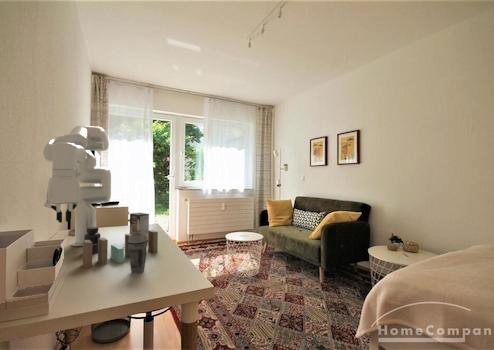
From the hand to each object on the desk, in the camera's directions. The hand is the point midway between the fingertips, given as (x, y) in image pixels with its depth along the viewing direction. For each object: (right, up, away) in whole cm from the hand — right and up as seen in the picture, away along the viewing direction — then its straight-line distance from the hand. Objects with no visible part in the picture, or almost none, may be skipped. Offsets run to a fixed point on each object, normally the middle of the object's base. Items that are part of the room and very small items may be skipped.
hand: (63, 221), depth 92 cm
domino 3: (+17, -20, +17) cm, 31 cm away
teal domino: (+17, -17, +10) cm, 26 cm away
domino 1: (+6, -19, +5) cm, 21 cm away
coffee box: (+10, -20, +43) cm, 48 cm away
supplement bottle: (-4, -20, +23) cm, 31 cm away
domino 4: (+25, -20, +25) cm, 40 cm away
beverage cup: (+29, -19, -1) cm, 35 cm away
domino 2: (+9, -19, +9) cm, 23 cm away
